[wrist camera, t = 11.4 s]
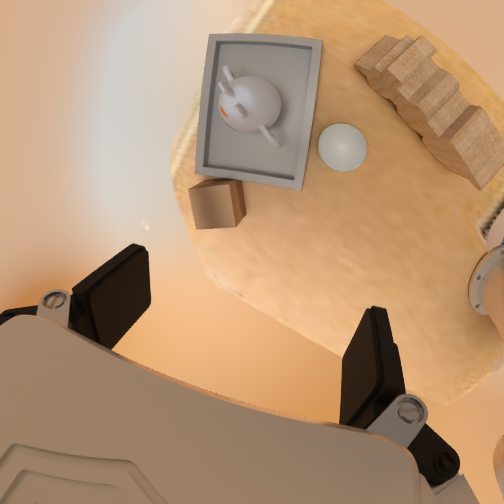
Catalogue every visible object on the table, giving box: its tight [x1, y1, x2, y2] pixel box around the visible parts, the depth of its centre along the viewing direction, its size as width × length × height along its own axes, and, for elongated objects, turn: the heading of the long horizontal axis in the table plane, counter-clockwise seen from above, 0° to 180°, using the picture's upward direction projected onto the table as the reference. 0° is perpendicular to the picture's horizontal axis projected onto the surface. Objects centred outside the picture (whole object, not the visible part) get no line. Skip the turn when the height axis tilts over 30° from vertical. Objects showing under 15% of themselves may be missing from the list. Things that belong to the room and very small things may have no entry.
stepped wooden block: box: [355, 35, 504, 190], centre depth 21 cm, size 6×17×10 cm, turn 50°
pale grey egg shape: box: [318, 123, 367, 172], centre depth 28 cm, size 5×5×5 cm
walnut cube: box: [188, 178, 246, 230], centre depth 34 cm, size 5×5×5 cm
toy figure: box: [218, 65, 281, 148], centre depth 24 cm, size 11×6×12 cm, turn 32°
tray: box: [195, 34, 322, 191], centre depth 29 cm, size 13×18×2 cm
